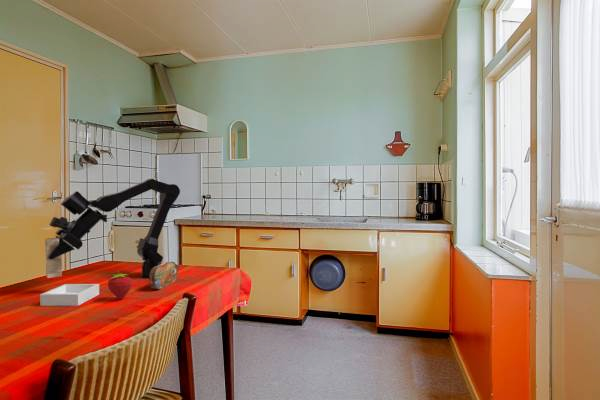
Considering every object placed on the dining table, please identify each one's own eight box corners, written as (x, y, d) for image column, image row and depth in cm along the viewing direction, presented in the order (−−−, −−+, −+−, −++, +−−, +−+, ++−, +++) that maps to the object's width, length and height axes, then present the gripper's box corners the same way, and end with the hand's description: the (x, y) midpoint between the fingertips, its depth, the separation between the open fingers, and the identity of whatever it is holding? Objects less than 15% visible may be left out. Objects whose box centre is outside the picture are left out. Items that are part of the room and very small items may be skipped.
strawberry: (128, 302, 112) (127, 271, 112) (104, 302, 112) (103, 271, 111) (136, 296, 118) (135, 267, 117) (113, 297, 117) (112, 267, 117)
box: (99, 294, 120) (99, 284, 120) (78, 305, 109) (77, 294, 109) (65, 294, 120) (65, 284, 120) (40, 305, 109) (40, 294, 109)
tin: (155, 292, 123) (155, 268, 123) (147, 291, 124) (147, 268, 123) (178, 281, 138) (178, 259, 137) (171, 280, 138) (171, 259, 138)
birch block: (60, 273, 125) (59, 237, 125) (61, 276, 122) (60, 238, 122) (46, 275, 123) (45, 238, 122) (47, 278, 120) (46, 240, 119)
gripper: (61, 207, 131) (25, 239, 124) (70, 209, 117) (29, 246, 110) (86, 226, 137) (52, 258, 130) (97, 231, 123) (60, 267, 116)
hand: (48, 257), depth 121 cm, fingers closed on birch block, 4 cm apart
